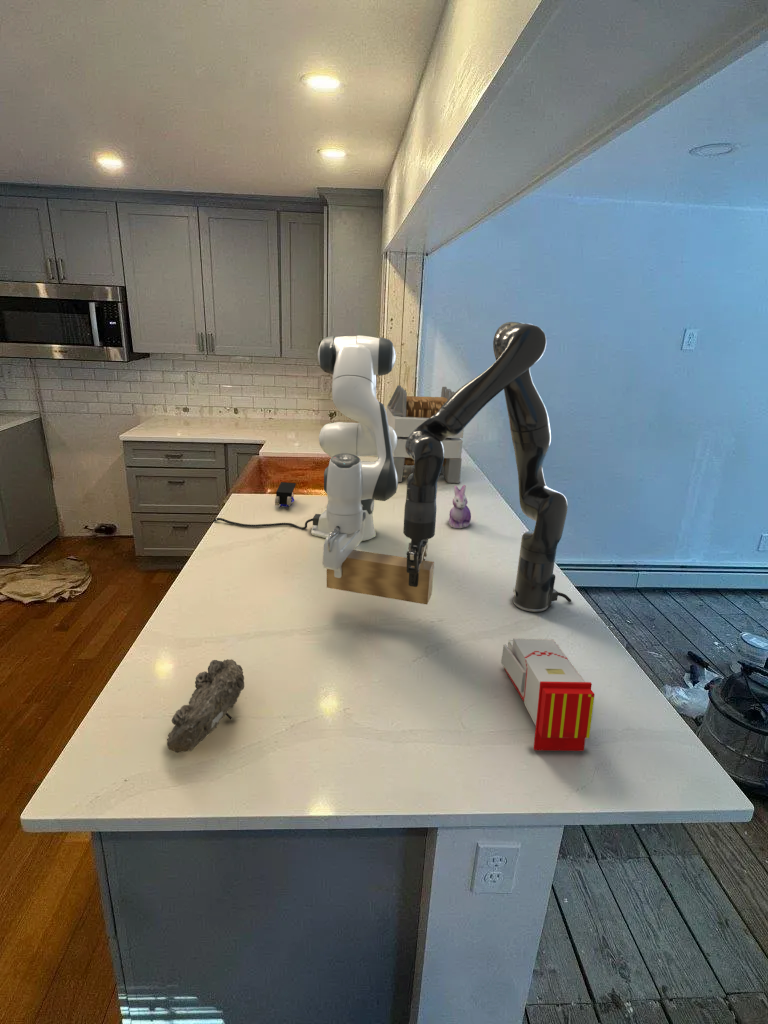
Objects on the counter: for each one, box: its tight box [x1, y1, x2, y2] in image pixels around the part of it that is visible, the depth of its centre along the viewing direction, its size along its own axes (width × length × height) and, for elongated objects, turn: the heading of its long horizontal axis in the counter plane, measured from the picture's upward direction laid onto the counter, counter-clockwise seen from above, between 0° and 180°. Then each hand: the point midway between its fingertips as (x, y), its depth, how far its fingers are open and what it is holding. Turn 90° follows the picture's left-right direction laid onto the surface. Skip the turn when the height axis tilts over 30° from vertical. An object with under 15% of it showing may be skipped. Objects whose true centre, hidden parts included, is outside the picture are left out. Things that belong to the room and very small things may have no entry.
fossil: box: [166, 658, 245, 754], centre depth 106 cm, size 22×10×15 cm
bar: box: [326, 549, 435, 605], centre depth 142 cm, size 26×5×9 cm, turn 74°
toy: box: [500, 637, 595, 752], centre depth 114 cm, size 12×13×30 cm
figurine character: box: [274, 481, 297, 510], centre depth 222 cm, size 7×8×15 cm
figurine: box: [448, 484, 472, 529], centre depth 208 cm, size 9×10×15 cm
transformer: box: [386, 384, 465, 484], centre depth 268 cm, size 34×33×41 cm
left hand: (343, 571), depth 145 cm, fingers closed on bar, 5 cm apart
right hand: (415, 580), depth 140 cm, fingers closed on bar, 5 cm apart
